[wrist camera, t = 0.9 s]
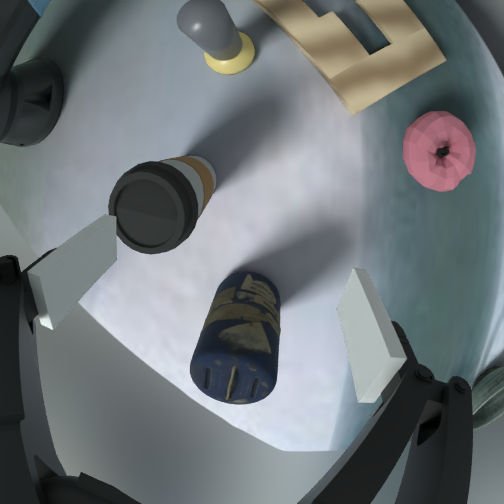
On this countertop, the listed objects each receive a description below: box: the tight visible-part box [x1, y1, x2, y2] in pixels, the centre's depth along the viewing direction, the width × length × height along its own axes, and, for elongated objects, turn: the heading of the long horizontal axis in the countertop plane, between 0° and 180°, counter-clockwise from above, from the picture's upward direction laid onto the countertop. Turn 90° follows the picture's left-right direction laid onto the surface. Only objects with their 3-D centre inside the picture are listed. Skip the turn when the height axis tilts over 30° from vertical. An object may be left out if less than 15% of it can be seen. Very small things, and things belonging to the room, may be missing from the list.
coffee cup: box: [108, 156, 217, 254], centre depth 29 cm, size 8×8×15 cm
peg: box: [177, 0, 255, 75], centre depth 23 cm, size 6×6×14 cm
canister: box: [190, 272, 281, 404], centre depth 35 cm, size 10×10×18 cm
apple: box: [403, 111, 476, 192], centre depth 27 cm, size 10×9×10 cm
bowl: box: [472, 366, 504, 430], centre depth 45 cm, size 21×21×10 cm
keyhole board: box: [253, 0, 447, 114], centre depth 24 cm, size 24×16×3 cm, turn 38°
